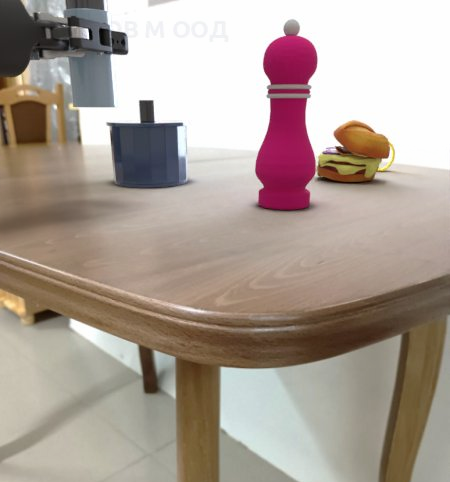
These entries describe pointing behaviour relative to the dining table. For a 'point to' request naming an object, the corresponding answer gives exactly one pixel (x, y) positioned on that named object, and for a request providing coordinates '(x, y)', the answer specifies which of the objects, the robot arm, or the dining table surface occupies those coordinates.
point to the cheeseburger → (353, 154)
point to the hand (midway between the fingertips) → (107, 45)
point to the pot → (149, 156)
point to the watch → (390, 160)
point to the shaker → (92, 61)
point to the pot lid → (147, 118)
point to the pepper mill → (287, 123)
